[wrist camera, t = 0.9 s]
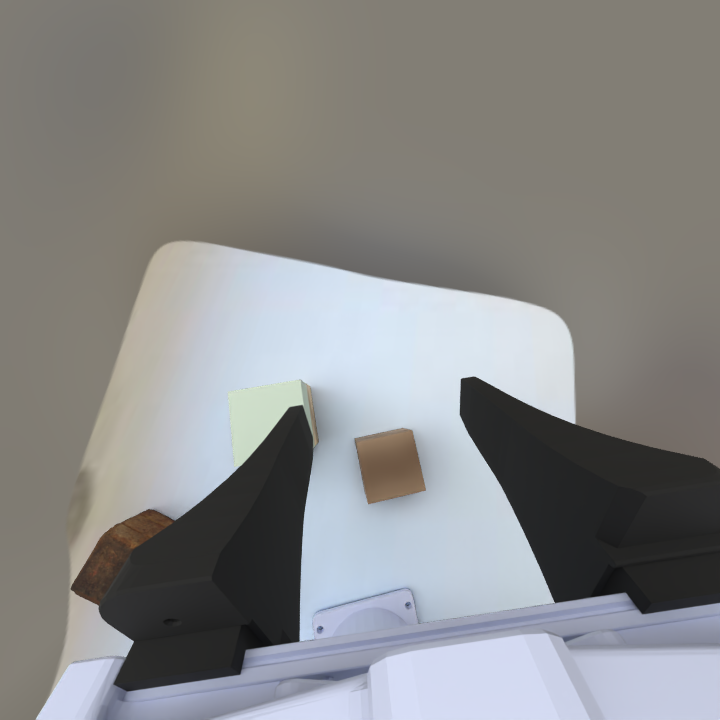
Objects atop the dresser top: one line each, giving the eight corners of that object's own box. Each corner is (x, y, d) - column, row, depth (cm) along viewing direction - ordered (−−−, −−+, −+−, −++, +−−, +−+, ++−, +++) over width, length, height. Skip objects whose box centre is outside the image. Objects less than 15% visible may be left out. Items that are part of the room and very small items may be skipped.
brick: (123, 554, 21) (61, 594, 16) (152, 505, 22) (102, 530, 17) (240, 616, 21) (211, 675, 16) (266, 564, 22) (245, 605, 17)
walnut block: (413, 479, 23) (425, 490, 20) (364, 490, 23) (368, 504, 20) (402, 428, 24) (412, 430, 21) (354, 438, 24) (356, 442, 20)
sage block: (315, 446, 21) (310, 452, 18) (250, 458, 20) (234, 466, 17) (306, 383, 22) (300, 379, 19) (243, 394, 21) (227, 391, 18)
